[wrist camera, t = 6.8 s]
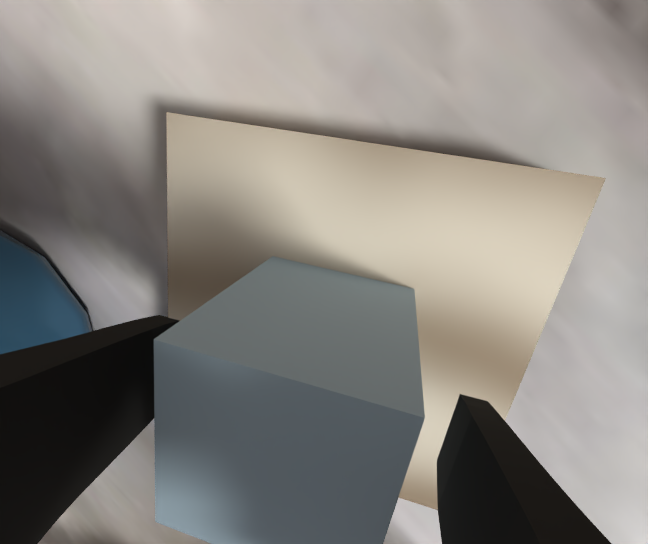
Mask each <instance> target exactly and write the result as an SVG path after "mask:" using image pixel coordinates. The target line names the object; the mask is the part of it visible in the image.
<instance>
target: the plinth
mask: <svg viewBox="0 0 648 544" xmlns="http://www.w3.org/2000/svg"><path fill="white" fill-rule="evenodd" d="M166 122H167V249H168V318H172V319H176V320H180V321H181V320H182V319H184V318H185V317H186V316H188V315H189V314H191V313H192V312H194V311H195V310H196V309H198V308H199V307H201V306H202V305H204V304H205V303H206V302H208V301H209V300H211V299H212V298H214V297H215V296H216V295H218V294H219V293H221V292H222V291H224V290H225V289H227V288H228V287H229V286H231V285H232V284H234V283H235V282H237V281H238V280H239V279H241V278H242V277H244V276H245V275H247V274H248V273H249V272H251V271H252V270H254V269H255V268H257V267H258V266H259V265H261V264H262V263H264V262H265V261H267V260H268V259H270V258H271V257H272V256H274V257H279V258H283V259H287V260H292V261H296V262H300V263H305V264H309V265H313V266H318V267H322V268H326V269H331V270H335V271H339V272H344V273H348V274H352V275H357V276H361V277H365V278H370V279H374V280H378V281H383V282H387V283H391V284H396V285H400V286H404V287H409V288H413V289H414V290H415V303H416V315H417V327H418V339H419V352H420V364H421V376H422V388H423V401H424V413H425V419H424V422H423V425H422V428H421V431H420V434H419V437H418V440H417V443H416V446H415V449H414V452H413V455H412V458H411V461H410V464H409V467H408V470H407V473H406V476H405V479H404V482H403V485H402V488H401V491H400V494H399V498H402V499H405V500H408V501H411V502H414V503H418V504H421V505H424V506H427V507H430V508H433V509H436V510H438V503H437V458H438V456H439V453H440V450H441V447H442V444H443V441H444V438H445V435H446V433H447V430H448V427H449V424H450V421H451V418H452V415H453V412H454V410H455V407H456V404H457V401H458V398H459V395H460V394H462V395H466V396H470V397H474V398H477V399H481V400H485V401H488V402H489V403H490V404H491V405H492V406H493V408H494V409H495V410H496V411H497V412H498V413H499V415H500V416H501V417H502V418H503V419H504V421H505V419H506V417H507V414H508V412H509V409H510V407H511V405H512V402H513V400H514V397H515V395H516V393H517V390H518V388H519V385H520V383H521V381H522V378H523V376H524V373H525V371H526V369H527V366H528V364H529V361H530V359H531V357H532V354H533V352H534V349H535V347H536V345H537V342H538V340H539V337H540V335H541V333H542V330H543V328H544V325H545V323H546V321H547V318H548V316H549V313H550V311H551V309H552V306H553V304H554V301H555V299H556V297H557V294H558V292H559V289H560V287H561V285H562V282H563V280H564V277H565V275H566V273H567V270H568V268H569V265H570V263H571V261H572V258H573V256H574V253H575V251H576V249H577V246H578V244H579V241H580V239H581V237H582V234H583V232H584V229H585V227H586V225H587V222H588V220H589V217H590V215H591V213H592V210H593V208H594V205H595V203H596V201H597V198H598V196H599V193H600V191H601V188H602V186H603V184H604V181H605V179H606V178H601V177H594V176H587V175H581V174H574V173H568V172H561V171H554V170H548V169H541V168H534V167H528V166H521V165H514V164H508V163H501V162H494V161H488V160H481V159H474V158H468V157H461V156H455V155H448V154H441V153H435V152H428V151H421V150H415V149H408V148H401V147H395V146H388V145H381V144H375V143H368V142H361V141H355V140H348V139H341V138H335V137H328V136H322V135H315V134H308V133H302V132H295V131H288V130H282V129H275V128H268V127H262V126H255V125H248V124H242V123H235V122H228V121H222V120H215V119H209V118H202V117H195V116H189V115H182V114H175V113H169V112H166Z"/></svg>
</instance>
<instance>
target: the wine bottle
mask: <svg viewBox="0 0 648 544" xmlns="http://www.w3.org/2000/svg"><path fill="white" fill-rule="evenodd" d="M91 331H92V328H91V325H90V321H89V317H88V314H87V312H86V311H85V310H84V308H83V307H82V306H81V304H80V303H79V302H78V300H77V299H76V298H75V297H74V295H73V294H72V293H71V291H70V290H69V289H68V287H67V286H66V285H65V283H64V282H63V281H62V279H61V278H60V277H59V276H58V274H57V273H56V272H55V270H54V269H53V268H52V266H51V265H50V264H49V262H48V261H47V260H46V258H45V257H44V256H42V255H40V254H39V253H37V252H36V251H34V250H32V249H31V248H29V247H27V246H26V245H24V244H22V243H21V242H19V241H17V240H16V239H14V238H12V237H11V236H9V235H7V234H6V233H4V232H2V231H1V230H0V354H4V353H8V352H12V351H16V350H20V349H24V348H28V347H33V346H37V345H41V344H45V343H49V342H53V341H57V340H61V339H65V338H69V337H73V336H76V335H80V334H84V333H88V332H91Z"/></svg>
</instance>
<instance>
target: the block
mask: <svg viewBox="0 0 648 544" xmlns="http://www.w3.org/2000/svg"><path fill="white" fill-rule="evenodd" d="M424 419H425V413H424V401H423V388H422V376H421V364H420V352H419V339H418V327H417V315H416V303H415V290H414V289H413V288H409V287H404V286H400V285H396V284H391V283H387V282H383V281H378V280H374V279H370V278H365V277H361V276H357V275H352V274H348V273H344V272H339V271H335V270H331V269H326V268H322V267H318V266H313V265H309V264H305V263H300V262H296V261H292V260H287V259H283V258H279V257H274V256H272V257H271V258H270V259H268V260H267V261H265V262H264V263H262V264H261V265H259V266H258V267H257V268H255V269H254V270H252V271H251V272H249V273H248V274H247V275H245V276H244V277H242V278H241V279H239V280H238V281H237V282H235V283H234V284H232V285H231V286H229V287H228V288H227V289H225V290H224V291H222V292H221V293H219V294H218V295H216V296H215V297H214V298H212V299H211V300H209V301H208V302H206V303H205V304H204V305H202V306H201V307H199V308H198V309H196V310H195V311H194V312H192V313H191V314H189V315H188V316H186V317H185V318H184V319H182V320H181V321H179V322H178V323H176V324H175V325H174V326H172V327H171V328H169V329H168V330H166V331H165V332H163V333H162V334H161V335H159V336H158V337H156V338H155V339H154V421H155V519H156V522H157V523H160V524H162V525H165V526H168V527H170V528H173V529H175V530H178V531H180V532H183V533H186V534H188V535H191V536H193V537H196V538H199V539H201V540H204V541H206V542H209V543H211V544H383V542H384V539H385V536H386V533H387V530H388V527H389V524H390V521H391V518H392V515H393V512H394V509H395V506H396V503H397V500H398V497H399V494H400V491H401V488H402V485H403V482H404V479H405V476H406V473H407V470H408V467H409V464H410V461H411V458H412V455H413V452H414V449H415V446H416V443H417V440H418V437H419V434H420V431H421V428H422V425H423V422H424Z"/></svg>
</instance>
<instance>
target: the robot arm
mask: <svg viewBox="0 0 648 544" xmlns="http://www.w3.org/2000/svg"><path fill="white" fill-rule="evenodd" d="M179 321H180V320H176V319H172V318H168V317H164V316H161V315H158V316H152V317H147V318H142V319H138V320H134V321H129V322H126V323H122V324H118V325H114V326H110V327H106V328H103V329H99V330H95V331H91V332H88V333H84V334H80V335H76V336H73V337H69V338H65V339H61V340H57V341H53V342H49V343H45V344H41V345H37V346H33V347H28V348H24V349H20V350H16V351H12V352H8V353H4V354H0V544H37V543H38V542H39V541H40V540H41V539H42V537H43V536H44V535H45V534H46V533H47V531H48V530H49V529H50V528H51V527H52V525H53V524H54V523H55V522H56V521H57V519H58V518H59V517H60V516H61V515H62V514H63V513H64V512H65V511H66V509H67V508H68V507H69V506H70V505H71V504H72V503H73V502H74V501H75V500H76V498H77V497H78V496H79V495H80V494H81V493H82V492H83V491H84V490H85V489H86V488H87V487H88V486H89V485H90V484H91V483H92V482H93V481H94V480H95V479H96V478H97V477H98V476H99V475H100V474H101V473H102V472H103V471H104V470H105V469H106V468H107V467H108V465H109V464H110V463H111V462H112V461H113V460H114V459H115V458H116V457H117V456H118V455H119V454H120V453H121V452H122V451H123V450H124V449H125V448H126V447H127V446H128V445H129V444H130V443H131V442H132V441H133V440H134V439H135V438H136V437H137V435H138V434H139V433H140V432H141V431H142V430H143V429H144V428H145V427H146V426H147V425H148V424H149V423H150V422H151V421H152V420H153V419H154V339H155V338H156V337H158V336H159V335H161V334H162V333H163V332H165V331H166V330H168V329H169V328H171V327H172V326H174V325H175V324H176V323H178V322H179ZM437 503H438V515H439V523H440V530H441V538H442V544H611V543H610V542H609V541H608V539H607V538H606V537H605V536H604V535H603V534H602V533H601V532H600V531H599V530H598V529H597V528H596V526H595V525H594V524H593V523H592V522H591V521H590V520H589V519H588V518H587V517H586V516H585V515H584V513H583V512H582V511H581V510H580V509H579V508H578V507H577V506H576V504H575V503H574V502H573V501H572V500H571V499H570V498H569V497H568V495H567V494H566V493H565V492H564V491H563V490H562V489H561V487H560V486H559V485H558V484H557V483H556V482H555V480H554V479H553V478H552V477H551V476H550V475H549V473H548V472H547V471H546V470H545V469H544V468H543V466H542V465H541V464H540V463H539V462H538V460H537V459H536V458H535V457H534V456H533V454H532V453H531V452H530V451H529V450H528V448H527V447H526V446H525V445H524V444H523V442H522V441H521V440H520V439H519V438H518V436H517V435H516V434H515V433H514V431H513V430H512V429H511V428H510V427H509V425H508V424H507V423H506V422H505V421H504V419H503V418H502V417H501V416H500V415H499V413H498V412H497V411H496V410H495V409H494V408H493V406H492V405H491V404H490V403H489V402H488V401H485V400H481V399H477V398H474V397H470V396H466V395H462V394H460V395H459V398H458V401H457V404H456V407H455V410H454V412H453V415H452V418H451V421H450V424H449V427H448V430H447V433H446V435H445V438H444V441H443V444H442V447H441V450H440V453H439V456H438V458H437Z"/></svg>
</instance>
